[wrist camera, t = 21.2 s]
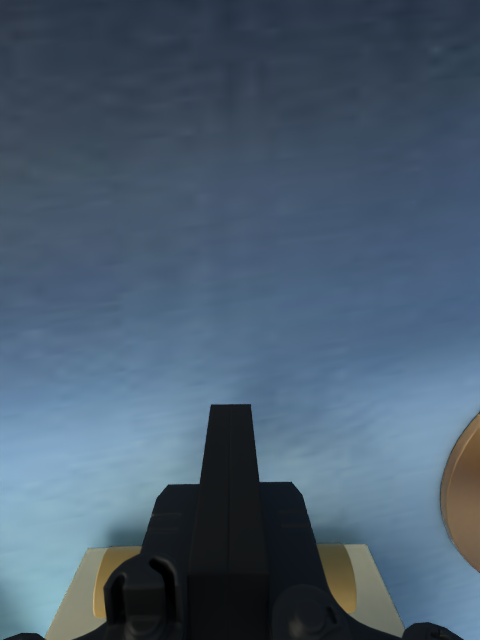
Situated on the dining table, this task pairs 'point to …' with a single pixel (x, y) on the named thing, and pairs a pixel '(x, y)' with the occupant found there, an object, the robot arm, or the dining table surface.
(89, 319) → the dining table surface
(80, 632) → the drawer
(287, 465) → the dining table surface
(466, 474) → the cork coaster
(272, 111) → the dining table surface
